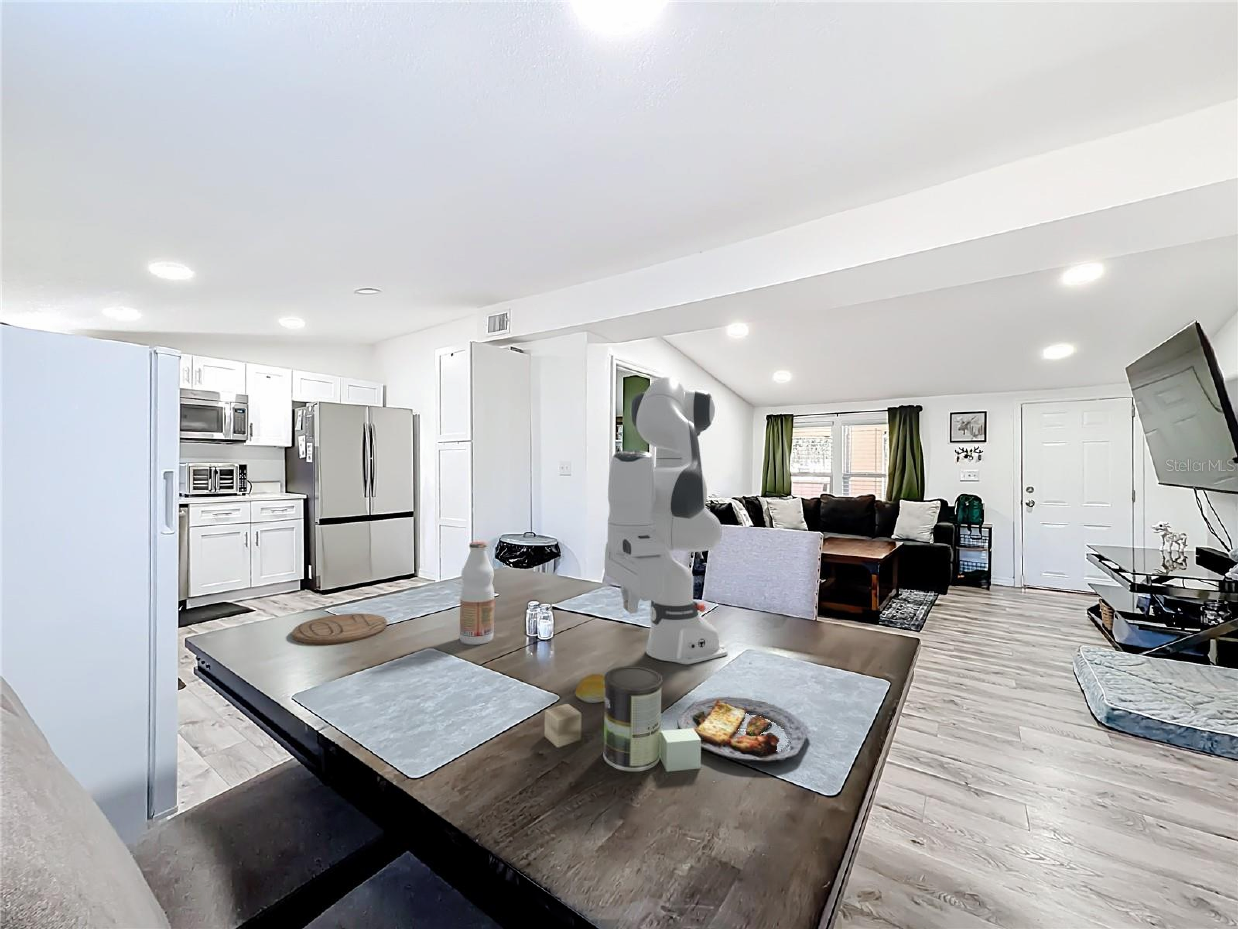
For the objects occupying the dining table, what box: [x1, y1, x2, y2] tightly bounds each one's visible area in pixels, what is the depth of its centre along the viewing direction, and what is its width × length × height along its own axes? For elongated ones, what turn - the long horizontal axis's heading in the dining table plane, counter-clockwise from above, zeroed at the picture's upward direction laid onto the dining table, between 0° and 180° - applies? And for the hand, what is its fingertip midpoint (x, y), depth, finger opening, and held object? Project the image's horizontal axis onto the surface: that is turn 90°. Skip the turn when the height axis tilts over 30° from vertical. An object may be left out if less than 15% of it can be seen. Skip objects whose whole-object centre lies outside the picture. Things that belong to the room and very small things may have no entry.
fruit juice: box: [459, 541, 495, 646], centre depth 155 cm, size 9×9×28 cm
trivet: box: [292, 613, 388, 646], centre depth 161 cm, size 25×25×2 cm
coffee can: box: [602, 665, 663, 773], centre depth 96 cm, size 10×10×14 cm
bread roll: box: [575, 673, 605, 704], centre depth 120 cm, size 8×9×4 cm
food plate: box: [676, 696, 811, 764], centre depth 104 cm, size 25×23×4 cm
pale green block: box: [660, 728, 702, 772], centre depth 94 cm, size 6×4×5 cm, turn 101°
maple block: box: [544, 703, 582, 748], centre depth 102 cm, size 5×5×5 cm
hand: (630, 611), depth 101 cm, fingers closed
